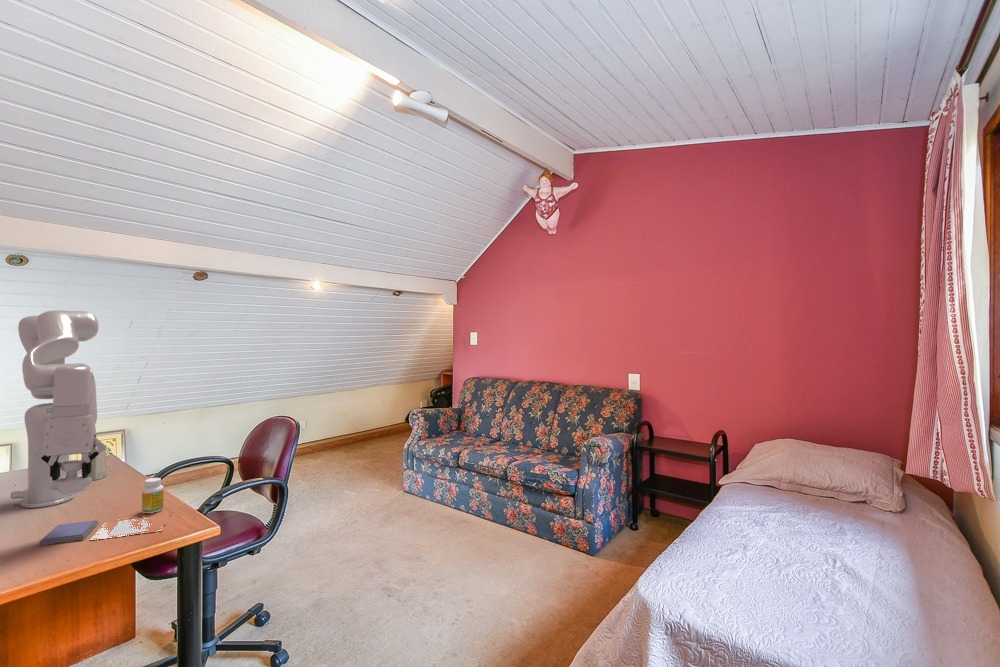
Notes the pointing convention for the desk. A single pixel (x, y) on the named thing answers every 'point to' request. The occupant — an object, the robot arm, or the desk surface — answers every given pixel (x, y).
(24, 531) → the desk surface
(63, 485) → the stamp
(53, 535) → the ink pad
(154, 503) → the supplement bottle
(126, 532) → the paper
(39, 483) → the robot arm
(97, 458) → the skincare box
